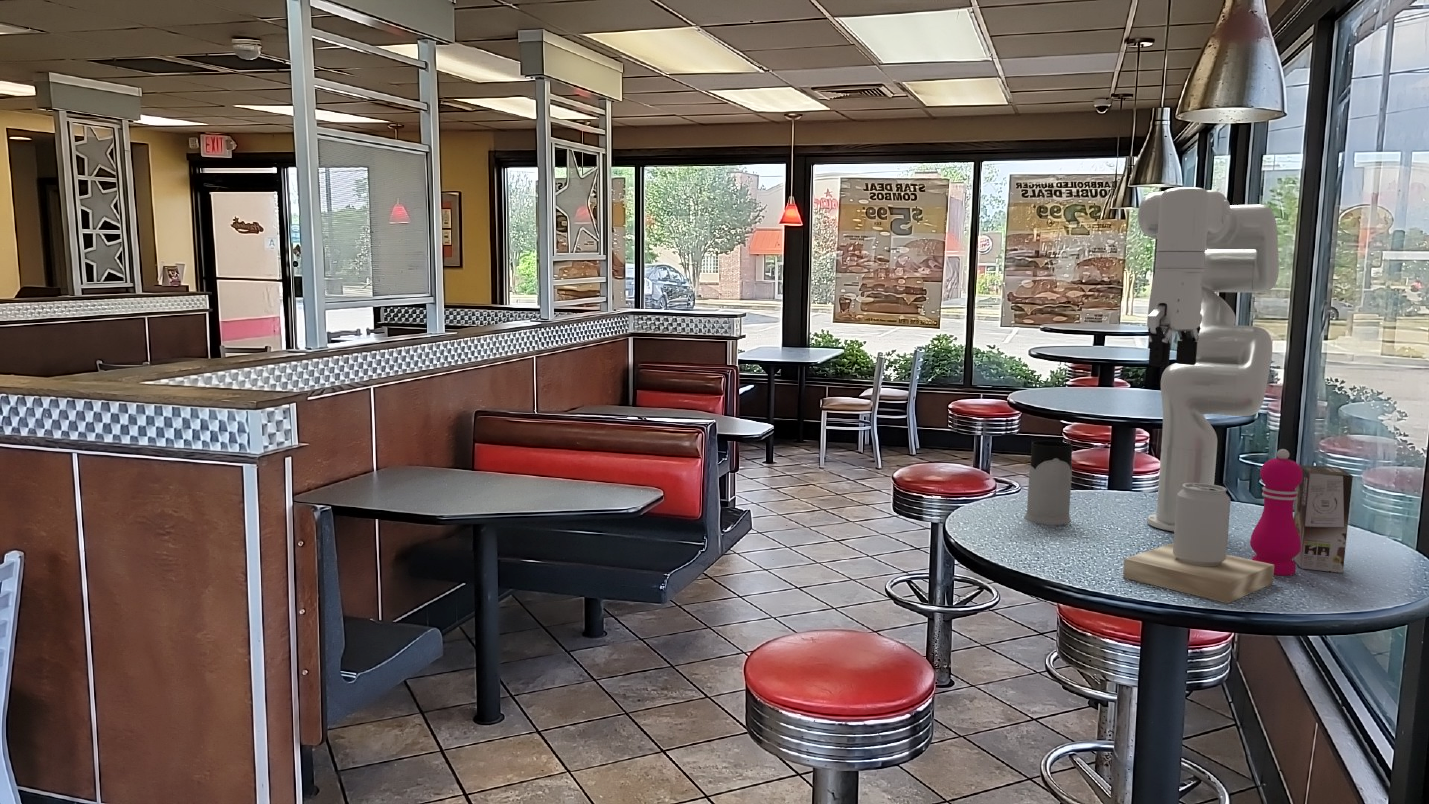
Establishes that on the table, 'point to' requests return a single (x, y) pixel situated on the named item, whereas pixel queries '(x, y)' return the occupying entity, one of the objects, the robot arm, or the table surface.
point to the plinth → (1199, 574)
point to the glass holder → (1049, 483)
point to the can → (1201, 524)
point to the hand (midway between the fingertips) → (1172, 365)
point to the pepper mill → (1278, 515)
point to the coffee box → (1322, 517)
